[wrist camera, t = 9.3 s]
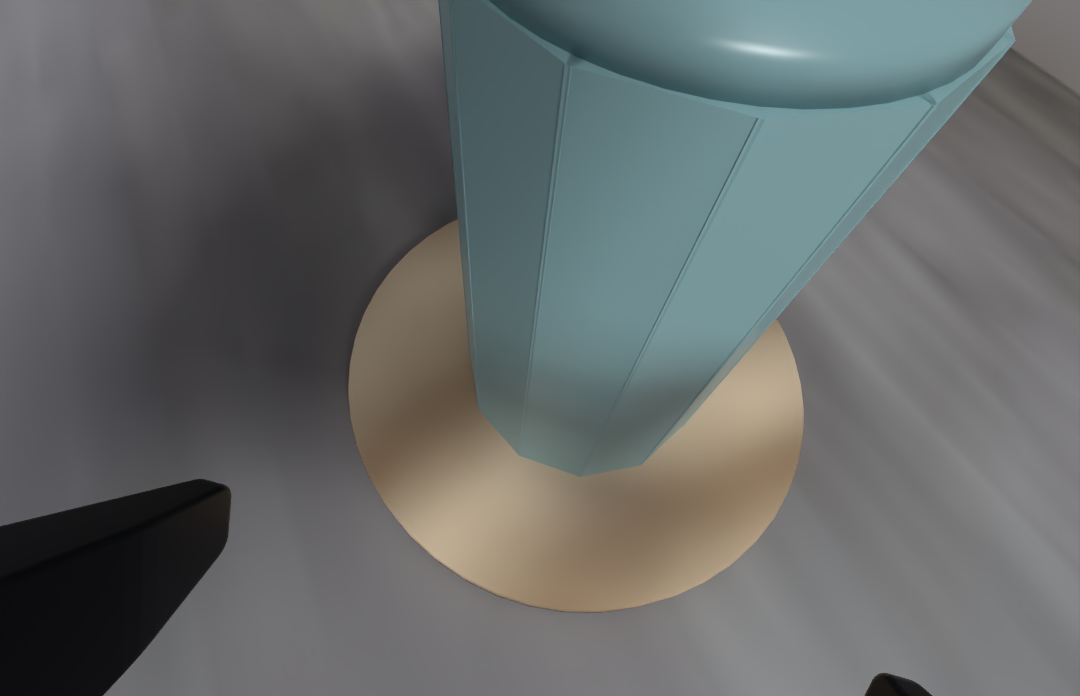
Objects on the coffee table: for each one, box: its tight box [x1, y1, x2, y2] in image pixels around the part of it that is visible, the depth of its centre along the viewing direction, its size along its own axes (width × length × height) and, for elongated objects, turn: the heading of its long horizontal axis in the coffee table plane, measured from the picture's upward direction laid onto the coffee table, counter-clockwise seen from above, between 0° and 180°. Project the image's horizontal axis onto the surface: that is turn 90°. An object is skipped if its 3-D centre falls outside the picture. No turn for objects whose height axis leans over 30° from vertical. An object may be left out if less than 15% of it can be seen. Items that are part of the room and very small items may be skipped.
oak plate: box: [348, 219, 804, 613], centre depth 18 cm, size 15×15×1 cm
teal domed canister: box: [438, 0, 1032, 477], centre depth 12 cm, size 7×7×13 cm
